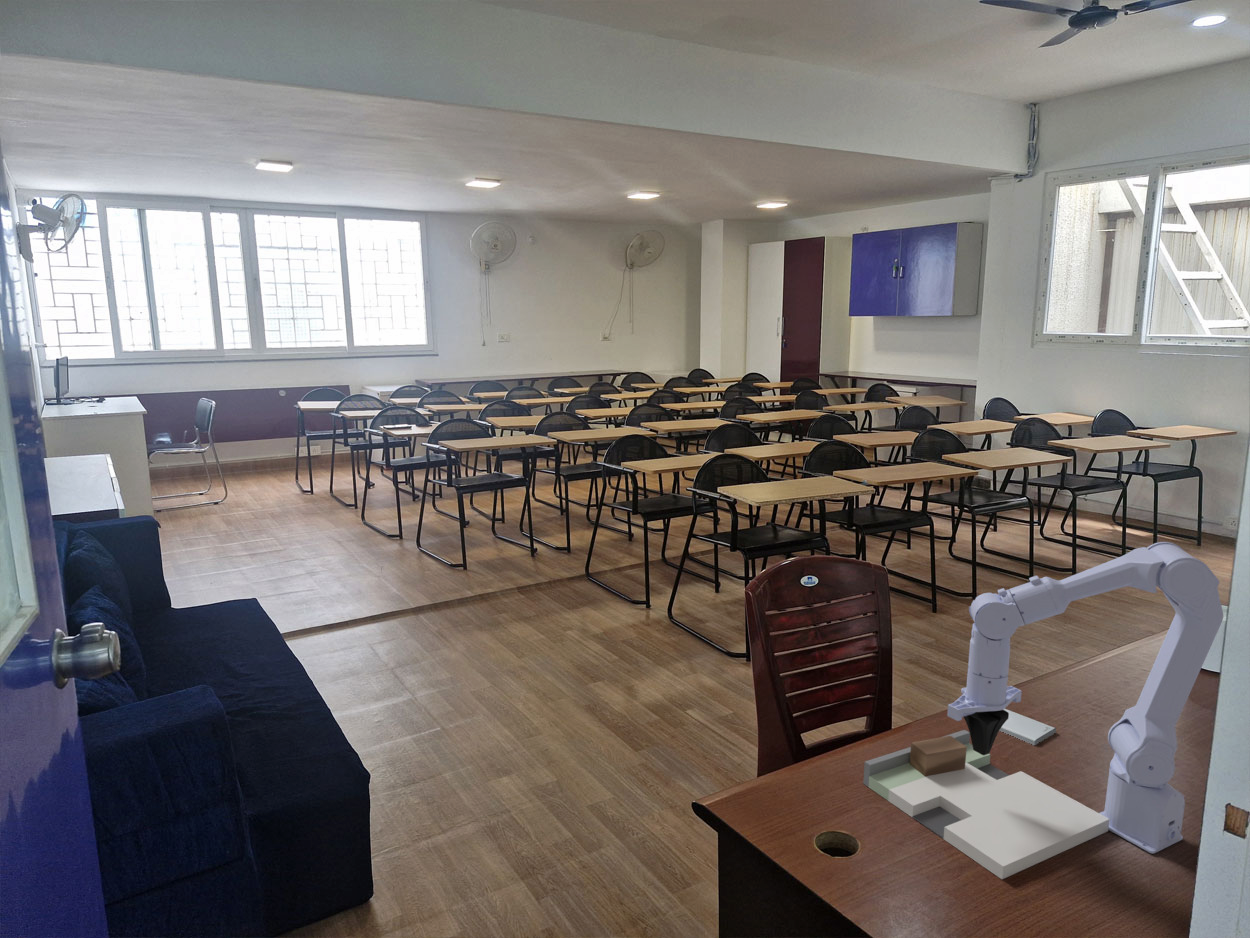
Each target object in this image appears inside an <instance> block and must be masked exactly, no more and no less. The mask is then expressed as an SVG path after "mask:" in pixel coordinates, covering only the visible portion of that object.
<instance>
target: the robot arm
mask: <svg viewBox="0 0 1250 938" xmlns="http://www.w3.org/2000/svg"><path fill="white" fill-rule="evenodd" d="M1028 579H1029V582H1026V583H1023V584H1020V585H1017V586H1014V587H1011V588H1009V589H1005V588H1004V587H1003V588H999V589H997V593H992V592H986V593H984V592H983V593H982V594H979V595H977V596H976V597H975V599H973V600H972V602H971V604H970V606H968V611H969V616H970V618H971V619H972V621H973V622H974V623H972V627H971V633H970V634H971V638H970V640H969V650H968V664H967V675H966V686H965V687H962V688H961V689H960V693H961V694H962V695H960V696H959V697H958V698H957V699H956V700H954V702H952V703H949V704H947V715H946V716H947V717H948V718H950V719H952V720H954V721H957V722H959V721H962V720H963V719H964V721H965V723H966V726H967V728H968V732H970V740H971V744H972V746H973V750H974V751H976V752H978V753H980V754H981V755H987V754H990V752H991V751H992V748H993V746H994V743H995V740H996V738H997V735H998V734H999V732H1000V731H999V730H1000V728H1001V727H1002V725H1003V724H1004V723H1005V722H1006V721H1007V719H1008V717H1009V713H1008V712H1007V711H1005V710H1003V709H1006V708H1007V707H1008V706H1009V705H1010V704H1011V703H1012V702H1013V703H1015V704H1016V703H1017V704H1018V703H1021V702H1022V701H1021V700H1022V692H1023V691H1022V690H1021V689H1019V688H1017V687H1015V686H1012V685H1009V686H1008V681H1009V668H1010V667H1009V666H1010V656H1011V637H1012V636H1013V635H1014V634H1015V632H1016V631H1017V629H1018V628H1019V627H1023V626H1027V625H1030V624H1033V623H1036V622H1040V621H1043V620H1045V619H1048V618H1051V617H1055V616H1058V615H1061V614H1064V613H1065V612H1066V609H1067V608H1068V606H1069V604H1070V603H1071V602H1075V601H1079V600H1081V599H1085V598H1086V599H1087V598H1089V597H1092V596H1096V595H1101V594H1103V593H1107V592H1112V591H1115V590H1118V589H1122V588H1126V587H1127V588H1128V587H1130V588H1135V589H1137V590H1142V591H1145V592H1148V593H1152V594H1157V593H1158V592H1157V591H1158V590H1157V588H1159V589H1160V590H1161V591H1162V592H1163V595H1164V596H1165V598H1166V600H1167V601H1168V602H1169V604H1170V605H1171V607H1172V609H1173V610H1174V613H1175V614H1174V616H1173V619H1172V621H1171V623H1170V626H1169V628H1168V630H1167V632H1166V635H1165V637H1164V639H1163V642H1162V644H1161V646H1160V649H1159V651H1158V654H1157V656H1156V658H1155V660H1154V662H1153V664H1152V665H1153V666H1152V668H1151V669H1150V671H1149V674H1148V676H1147V678H1146V681H1145V683H1144V685H1143V688H1142V690H1141V692H1140V695H1139V697H1138V699H1137V702H1136V704H1135V705H1134V706H1131V707H1128V708H1126V710H1125V711H1124V713H1123V715H1122V717H1121V718H1120V719H1119V720H1118V721H1116V722H1115V723H1114V724H1113V725H1112V726H1111V727H1109V729H1108V735H1107V742H1108V745H1109V746H1110V748H1111V749H1112V750H1113V751H1114V752H1113V754H1114V755H1113V758H1112V759H1111V761H1110V763H1109V770H1108V771H1109V772H1108V779H1107V787H1106V795H1105V804H1104V810H1103V811H1100V812H1098V813H1099V814H1101V815H1103V816H1105V817H1107V818H1108V819H1110V820H1109V828H1108V831H1110V832H1111V833H1114V834H1115V835H1117V836H1119V837H1121V838H1122V839H1125V840H1126V841H1128V842H1130V843H1132V844H1133V845H1135V846H1137V847H1138V848H1140V849H1143V850H1144V851H1145V852H1147V853H1149V854H1153V855H1154V854H1156V853H1158V852H1160V851H1162V850H1164V849H1166V848H1168V847H1170V846H1172V845H1174V844H1177V843H1178V842H1180V841H1182V840H1183V839H1184V836H1183V835H1182V828H1183V822H1184V821H1183V820H1184V813H1185V807H1186V803H1185V802H1186V801H1185V797H1184V794H1183V793H1182V792H1180V791H1178V790H1177V789H1175V788H1174V787H1173V786H1171V784H1169V783H1168V782H1169V781H1170V780H1171V779H1172V778H1173V776H1174V774H1175V770H1176V765H1175V754H1176V751H1177V749H1178V740H1177V732H1176V725H1177V723H1178V721H1179V718H1180V716H1181V713H1182V712H1183V709H1184V707H1185V704H1186V703H1187V701H1188V698H1189V696H1190V693H1191V691H1192V689H1193V688H1194V684H1195V683H1196V680H1197V679H1198V676H1199V674H1200V671H1201V669H1202V667H1203V665H1204V663H1205V660H1206V658H1207V656H1208V653H1209V652H1210V650H1211V647H1212V645H1213V643H1214V641H1215V638H1216V636H1217V634H1218V633H1219V629H1220V627H1221V625H1222V623H1223V620H1224V612H1223V607H1222V603H1221V597H1220V592H1219V590H1218V589H1219V588H1218V587H1219V585H1220V580H1219V579H1218V577H1217V576H1216V575H1215V574H1214V573H1213V571H1212V570H1211V569H1210V567H1209V566H1208V565H1207V564H1206V563H1205V562H1203V561H1202V560H1200V559H1198V558H1195V557H1194V556H1192V555H1191V554H1189V553H1188V552H1187V551H1185V550H1184V549H1183V548H1182V547H1181V546H1179V545H1177V544H1176V543H1173V542H1170V541H1169V542H1168V541H1160V542H1155V543H1153V544H1151V545H1148V546H1147V547H1146V546H1143V547H1142V546H1141V547H1138V548H1134V549H1132V550H1131V551H1129V552H1127V553H1125V554H1124V555H1122V556H1119V557H1116V558H1114V559H1112V560H1111V559H1110V560H1109V561H1106V562H1103V563H1101V564H1099V565H1095V566H1094V567H1090V568H1088V569H1086V570H1083V571H1080V572H1079V573H1075V574H1073V575H1070V576H1068V577H1066V578H1063V579H1060V580H1058V579H1055V578H1052V577H1049V576H1044V577H1042V578H1041V577H1039V576H1038V575H1034V576H1031V577H1029V578H1028Z"/></svg>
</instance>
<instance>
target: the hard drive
mask: <svg viewBox="0 0 1250 938" xmlns="http://www.w3.org/2000/svg"><path fill="white" fill-rule="evenodd" d="M1003 710H1005V711H1007V712H1008V713H1009V717H1008V719H1007V721H1006V722H1005V723H1004V724H1003V725H1002V727H1001V728H1000V730H999V732H1000V731H1001V732H1000V733H1002V732H1004V733H1003V734H1005V733H1006V734H1005V735H1007V734H1009V735H1008V736H1010V735H1011V736H1010V737H1012V736H1014V737H1013V738H1015V737H1016V738H1015V739H1017V738H1018V740H1019V739H1020V741H1022V740H1023V741H1022V742H1024V741H1025V742H1024V743H1027V744H1029V743H1030V744H1029V745H1031V744H1032V745H1031V746H1034V745H1035V746H1037V745H1038V744H1040V743H1041V742H1043V741H1045V740H1046V739H1048V738H1050V737H1051V736H1053V735H1054V733H1055V734H1056V733H1057V728H1056V727H1054V726H1051V725H1048V724H1046V723H1043V722H1041V721H1038V720H1035V719H1033V718H1030V717H1028V716H1025V715H1022V714H1020V713H1017V712H1014V711H1012V710H1009V709H1006V708H1005V709H1003ZM1049 736H1050V737H1049ZM1044 739H1045V740H1044ZM1039 742H1040V743H1039Z"/></svg>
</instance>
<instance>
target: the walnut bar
mask: <svg viewBox="0 0 1250 938" xmlns="http://www.w3.org/2000/svg"><path fill="white" fill-rule="evenodd" d="M944 736H945V737H943V736H939V737H935V738H929V739H928V738H927V739H923V740H918V741H912V742H911V743H910V747H911V752H910V765H911V766H912V767H914V768H915V769H916V770H917V771H919V772H920V773H921V774H922V775H924V776H925V777H926V776H931V775H936V774H941V773H946V772H952V771H957V770H962V769H965V761H966V749H967V747H966V746H965V745H963V744H962V743H960V742H959V741H957V740H956V739H954V738H953V737H952V736H946V735H944Z"/></svg>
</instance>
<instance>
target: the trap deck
mask: <svg viewBox="0 0 1250 938" xmlns="http://www.w3.org/2000/svg"><path fill="white" fill-rule="evenodd" d="M945 736H952V737H953V738H954V739H956V740H957V741H959V742H960V743H962V744H963V745H965V746H966V747H967V749H966V761H965V769H962V770H957V771H952V772H946V773H941V774H936V775H931V776H926V777H925V776H924V775H922V774H921V773H920V772H919V771H917V770H916V769H915V768H914V767H912V766H911V765H910V752H911V746H909V747H905V748H903V749H900V750H899V749H898V750H897V751H893V752H890V753H888V754H884V755H881V756H877V757H874V758H872V759H869V760H865V761H864V766H863V767H864V768H863V780H862V781H863V783H862V784H863V785H865V786H866V787H868V788H869V789H870V790H872V791H873V792H875V793H876V794H877V795H879V796H880V797H882V798H883V799H885V800H886V801H888V802H889V803H890V804H892V805H894V806H895V807H897V808H898V809H899V810H901V811H902V812H903V813H905V814H906V815H908V816H909V817H911V818H912V819H914V820H915V821H917V822H918V823H920V824H921V825H922V826H924V827H926V828H927V829H928V830H929V831H932V832H933V833H934V834H935V835H937V836H938V837H940V838H941V839H943V840H944V841H946V842H947V843H948V844H950V845H951V846H953V847H955V848H956V849H957V850H959V851H960V852H962V853H963V854H965V855H966V856H968V857H969V858H970V859H971V860H974V861H975V863H977V864H978V865H980V866H982V867H983V868H984V869H986V870H988V871H989V872H991V873H992V874H994V875H995V876H996V877H997V878H999V879H1001V880H1004V879H1006V878H1008V877H1010V876H1013V875H1015V874H1017V873H1019V872H1022V871H1024V870H1026V869H1028V868H1031V867H1032V866H1035V865H1037V864H1039V863H1042V862H1044V861H1047V860H1048V859H1050V858H1052V857H1055V856H1057V855H1058V854H1062V853H1063V852H1066V851H1067V850H1068V851H1069V849H1072V848H1075V847H1076V846H1078V845H1081V844H1083V843H1084V842H1085V843H1086V842H1088V841H1089V840H1092V839H1094V838H1096V837H1098V836H1101V835H1102V834H1105V833H1107V832H1109V830H1108V828H1109V820H1110V819H1108V818H1107V817H1105V816H1103V815H1101V814H1099V813H1100V812H1098V811H1096V810H1094V809H1093V808H1090V807H1088V806H1087V805H1084V804H1083V803H1081V802H1078V801H1077V800H1075V799H1074V798H1072V797H1070V796H1068V795H1066V794H1064V793H1062V792H1061V791H1059V790H1057V789H1055V788H1053V787H1051V786H1049V785H1048V784H1046V783H1044V782H1042V781H1040V780H1038V779H1037V778H1035V777H1033V776H1031V775H1029V774H1027V772H1023V771H1022V770H1020V771H1018V772H1014V773H1012V774H1009V773H1006V771H1005V772H1004V771H1003V770H1001V769H999V768H998V767H996V766H994V765H993V764H991V763H990V762H991V754H990V753H989V754H987V755H981V754H980V753H978V752H976V751H974V750H973V746H972V743H970V740H971V736H970V732H969V730H967V729H963V730H960V731H956V732H952V733H950V734H947V735H944V736H942V737H945Z"/></svg>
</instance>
